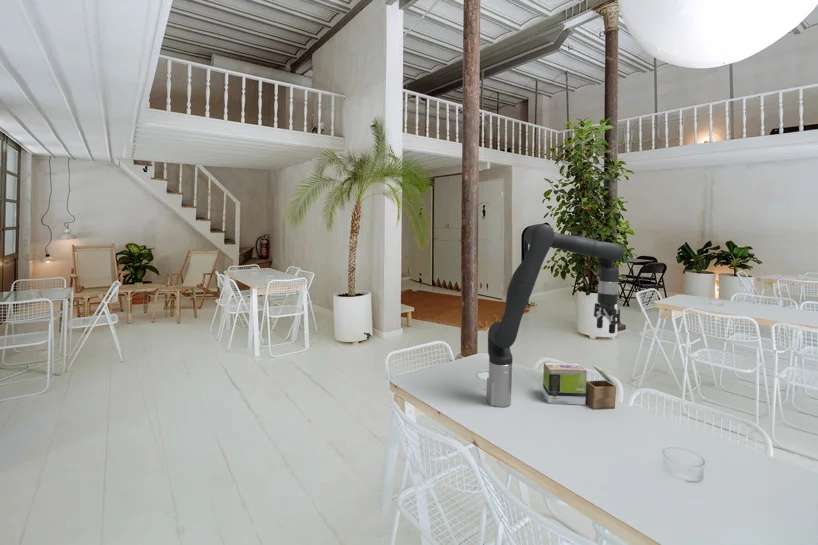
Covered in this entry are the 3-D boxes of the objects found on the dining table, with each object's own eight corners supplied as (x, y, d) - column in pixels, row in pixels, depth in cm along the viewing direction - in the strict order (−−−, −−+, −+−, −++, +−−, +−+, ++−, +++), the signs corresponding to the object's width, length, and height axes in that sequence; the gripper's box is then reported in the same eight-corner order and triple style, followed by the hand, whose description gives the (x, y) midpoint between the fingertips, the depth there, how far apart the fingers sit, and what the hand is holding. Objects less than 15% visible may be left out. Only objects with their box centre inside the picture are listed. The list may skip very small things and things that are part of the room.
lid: (601, 371, 160) (603, 369, 160) (591, 365, 167) (593, 364, 167) (616, 386, 161) (617, 385, 161) (605, 379, 168) (606, 378, 168)
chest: (593, 409, 161) (594, 387, 160) (584, 402, 168) (585, 381, 167) (614, 408, 162) (616, 386, 161) (604, 401, 169) (605, 380, 168)
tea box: (578, 395, 175) (579, 362, 173) (585, 405, 165) (587, 370, 163) (542, 394, 176) (543, 361, 175) (547, 404, 166) (549, 368, 165)
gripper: (589, 289, 174) (587, 326, 176) (609, 294, 160) (607, 335, 162) (606, 289, 175) (603, 326, 177) (627, 294, 161) (624, 334, 163)
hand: (605, 330), depth 169 cm, fingers open, 8 cm apart
